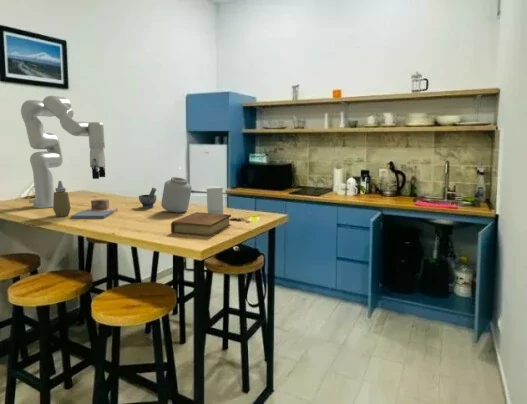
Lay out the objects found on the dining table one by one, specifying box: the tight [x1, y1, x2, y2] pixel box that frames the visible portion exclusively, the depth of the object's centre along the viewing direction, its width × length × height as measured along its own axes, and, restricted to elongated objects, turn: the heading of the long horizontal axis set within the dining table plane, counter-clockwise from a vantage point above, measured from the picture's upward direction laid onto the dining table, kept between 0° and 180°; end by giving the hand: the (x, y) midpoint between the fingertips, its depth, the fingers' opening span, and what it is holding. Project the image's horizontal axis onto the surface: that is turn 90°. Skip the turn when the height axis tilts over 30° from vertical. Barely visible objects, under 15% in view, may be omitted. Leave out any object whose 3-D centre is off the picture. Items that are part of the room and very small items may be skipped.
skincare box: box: [206, 185, 224, 214], centre depth 204 cm, size 8×7×16 cm
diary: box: [170, 211, 232, 237], centre depth 176 cm, size 23×19×6 cm
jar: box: [160, 167, 194, 214], centre depth 214 cm, size 19×15×25 cm
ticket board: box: [70, 209, 114, 220], centre depth 201 cm, size 16×14×2 cm
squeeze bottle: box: [52, 180, 72, 217], centre depth 200 cm, size 8×8×18 cm
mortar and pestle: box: [138, 187, 157, 209], centre depth 227 cm, size 11×9×12 cm
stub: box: [82, 198, 118, 214], centre depth 212 cm, size 16×8×6 cm, turn 94°
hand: (99, 177), depth 210 cm, fingers open, 9 cm apart
